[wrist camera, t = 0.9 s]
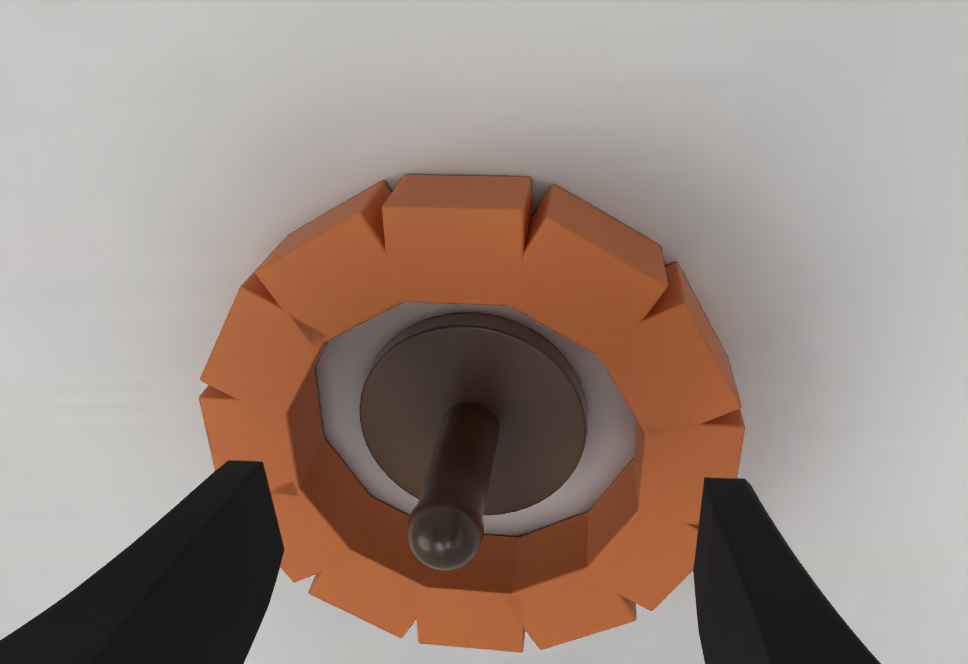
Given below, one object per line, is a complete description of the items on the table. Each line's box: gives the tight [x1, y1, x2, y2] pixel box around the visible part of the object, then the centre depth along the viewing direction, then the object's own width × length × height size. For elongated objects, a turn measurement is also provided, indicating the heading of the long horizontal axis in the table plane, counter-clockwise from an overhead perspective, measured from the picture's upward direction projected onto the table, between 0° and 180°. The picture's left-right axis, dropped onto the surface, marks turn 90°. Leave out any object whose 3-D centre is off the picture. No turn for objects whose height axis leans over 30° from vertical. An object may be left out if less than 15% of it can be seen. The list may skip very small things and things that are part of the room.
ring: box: [199, 175, 745, 652], centre depth 22 cm, size 14×14×2 cm
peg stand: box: [360, 313, 587, 571], centre depth 21 cm, size 6×6×6 cm
